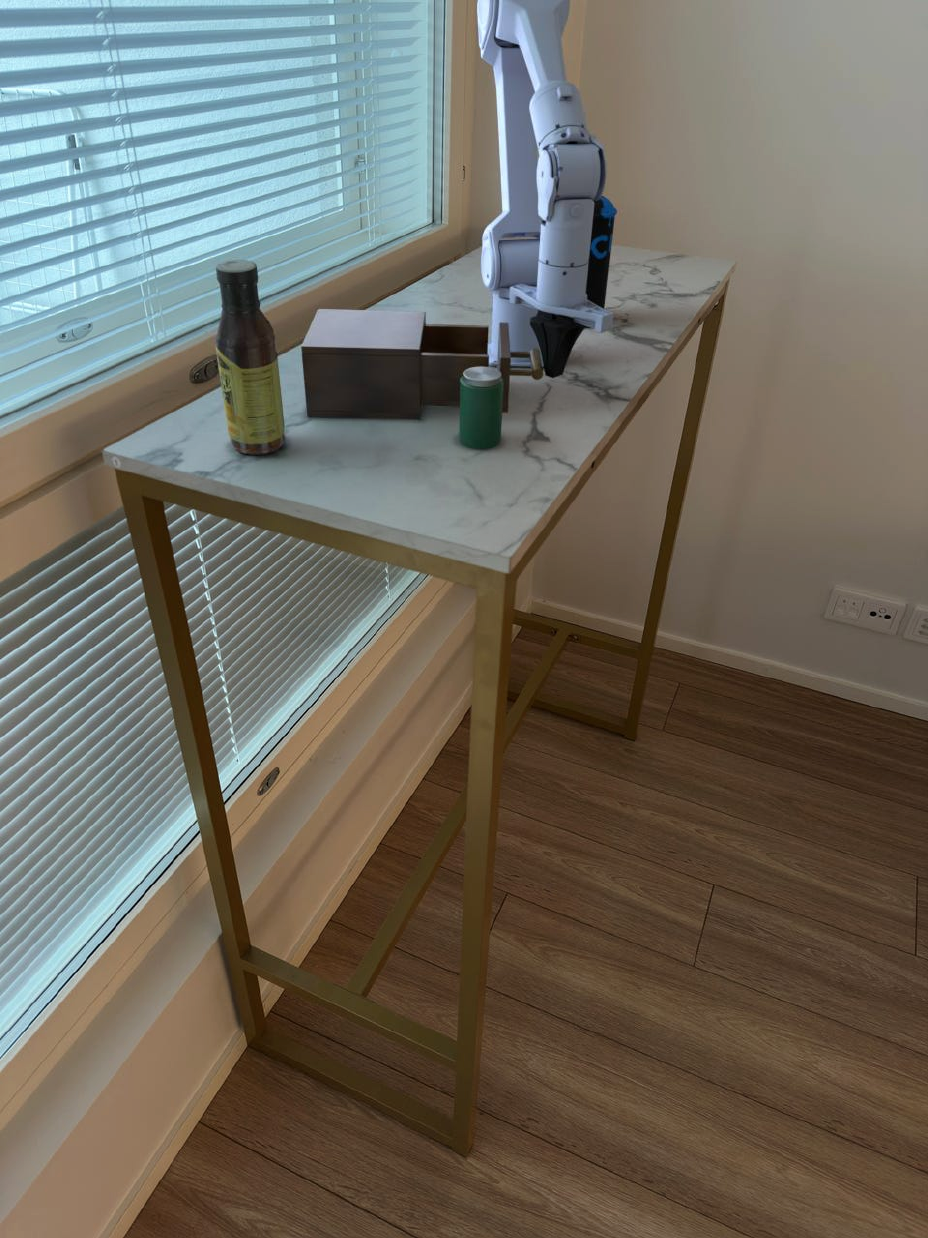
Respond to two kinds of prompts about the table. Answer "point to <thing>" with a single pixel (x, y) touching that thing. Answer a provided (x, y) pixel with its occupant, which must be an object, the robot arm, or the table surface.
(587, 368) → the table surface
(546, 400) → the table surface
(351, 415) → the cabinet
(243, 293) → the sauce bottle
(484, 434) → the can
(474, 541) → the table surface
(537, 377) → the drawer
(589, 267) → the aerosol can
